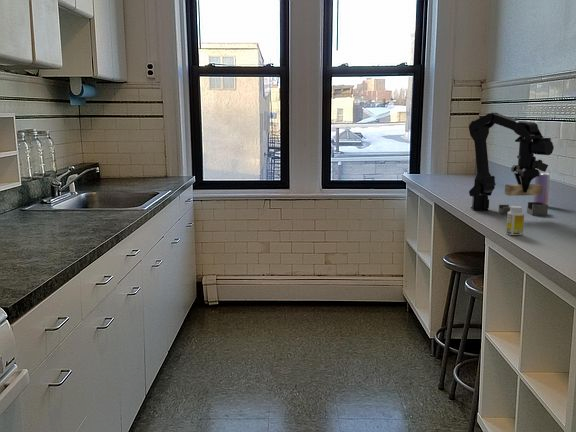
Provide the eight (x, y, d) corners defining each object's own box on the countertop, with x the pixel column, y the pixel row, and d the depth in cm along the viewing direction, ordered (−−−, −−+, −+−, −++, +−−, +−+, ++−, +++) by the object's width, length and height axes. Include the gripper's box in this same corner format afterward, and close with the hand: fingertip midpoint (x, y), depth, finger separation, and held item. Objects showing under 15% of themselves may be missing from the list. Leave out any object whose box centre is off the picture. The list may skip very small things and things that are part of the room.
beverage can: (539, 207, 264) (541, 174, 261) (530, 205, 270) (532, 173, 267) (550, 206, 266) (552, 174, 263) (541, 204, 271) (543, 172, 269)
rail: (508, 195, 236) (509, 185, 235) (504, 194, 240) (505, 184, 239) (541, 195, 237) (542, 185, 236) (536, 193, 241) (537, 184, 240)
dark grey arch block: (503, 214, 246) (503, 207, 245) (498, 211, 253) (499, 204, 253) (512, 215, 246) (513, 207, 245) (507, 211, 253) (508, 204, 252)
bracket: (532, 215, 245) (533, 204, 244) (526, 212, 252) (527, 202, 251) (547, 215, 244) (547, 205, 243) (541, 212, 252) (542, 202, 251)
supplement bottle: (525, 234, 208) (527, 206, 206) (519, 237, 204) (521, 208, 202) (509, 232, 212) (511, 204, 210) (503, 234, 208) (505, 206, 206)
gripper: (554, 155, 225) (551, 195, 228) (539, 151, 244) (536, 188, 247) (525, 155, 227) (522, 194, 230) (512, 151, 245) (509, 188, 248)
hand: (523, 191), depth 238 cm, fingers closed on rail, 4 cm apart
